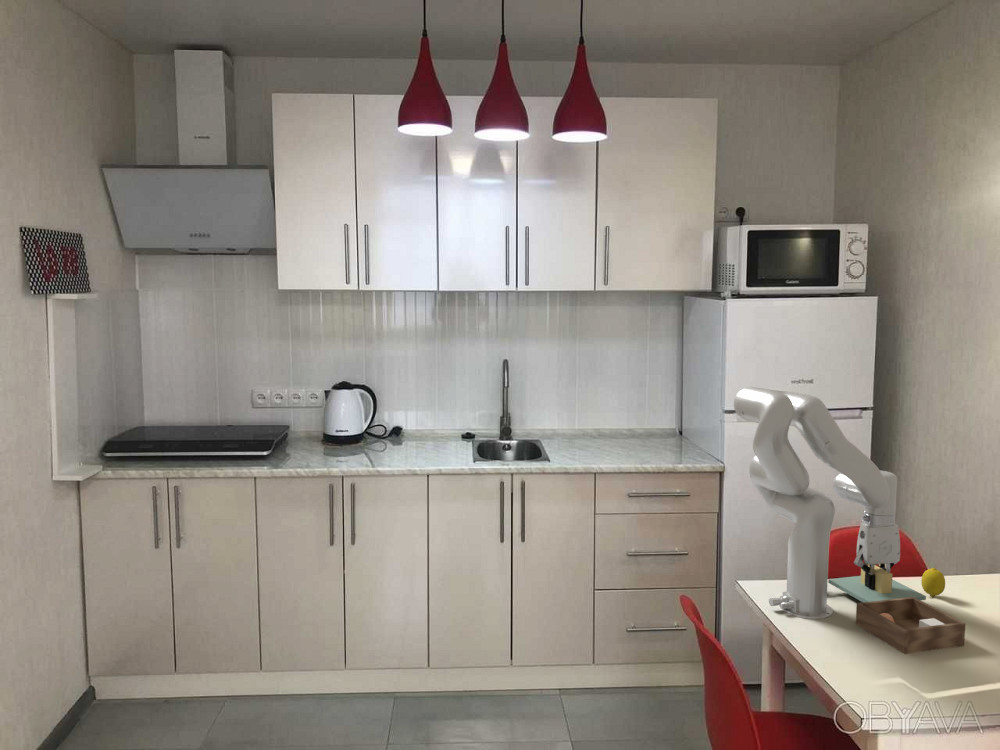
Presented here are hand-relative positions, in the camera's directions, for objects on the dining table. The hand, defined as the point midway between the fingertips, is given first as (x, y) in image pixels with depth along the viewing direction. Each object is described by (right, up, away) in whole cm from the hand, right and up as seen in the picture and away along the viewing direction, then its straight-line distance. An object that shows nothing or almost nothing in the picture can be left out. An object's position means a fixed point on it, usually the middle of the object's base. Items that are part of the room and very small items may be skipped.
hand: (875, 586), depth 207 cm
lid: (0, -1, 0) cm, 1 cm away
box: (-3, -6, -22) cm, 23 cm away
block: (+1, -6, -24) cm, 25 cm away
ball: (-7, -5, -19) cm, 21 cm away
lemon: (+16, -4, +2) cm, 17 cm away
